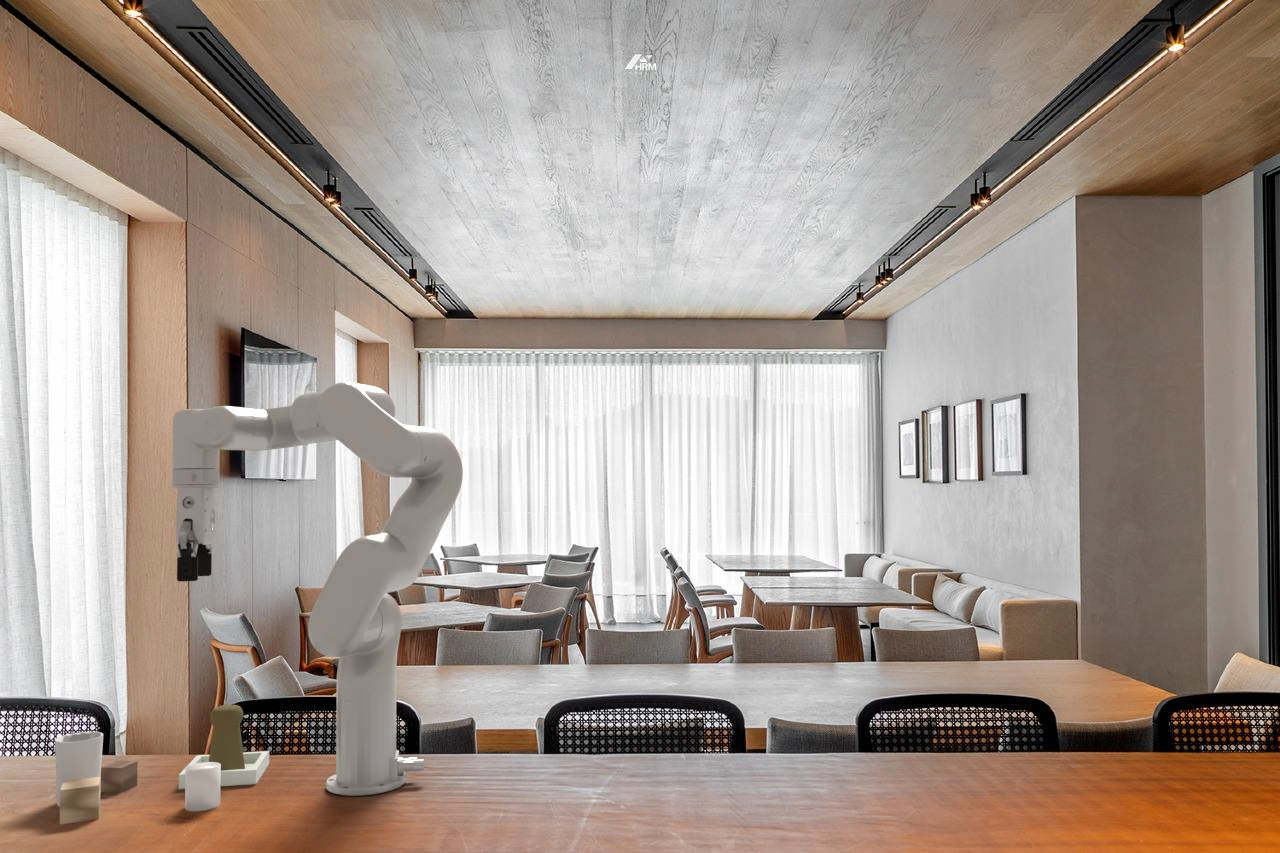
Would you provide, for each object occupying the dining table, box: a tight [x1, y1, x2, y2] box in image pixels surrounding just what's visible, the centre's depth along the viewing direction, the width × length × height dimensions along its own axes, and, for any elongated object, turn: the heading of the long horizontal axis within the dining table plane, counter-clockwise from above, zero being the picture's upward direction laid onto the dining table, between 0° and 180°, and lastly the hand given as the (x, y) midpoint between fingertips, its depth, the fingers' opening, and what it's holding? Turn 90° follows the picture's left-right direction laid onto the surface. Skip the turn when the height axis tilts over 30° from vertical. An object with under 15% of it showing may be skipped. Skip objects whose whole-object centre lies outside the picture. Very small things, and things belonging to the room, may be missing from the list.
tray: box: [178, 750, 270, 790], centre depth 169 cm, size 12×12×2 cm
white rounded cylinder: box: [184, 762, 222, 812], centre depth 153 cm, size 5×5×6 cm
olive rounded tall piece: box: [209, 704, 245, 770], centre depth 169 cm, size 6×6×11 cm
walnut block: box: [100, 760, 139, 794], centre depth 163 cm, size 4×4×4 cm
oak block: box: [59, 777, 101, 825], centre depth 149 cm, size 5×5×5 cm
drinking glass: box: [54, 731, 104, 808], centre depth 156 cm, size 7×7×10 cm
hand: (194, 578), depth 172 cm, fingers open, 9 cm apart
